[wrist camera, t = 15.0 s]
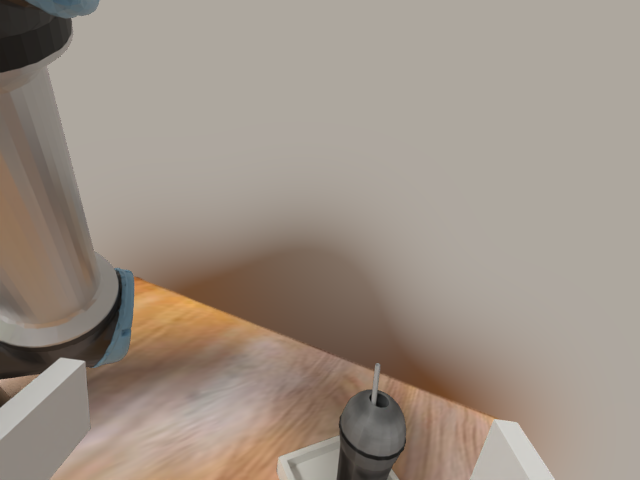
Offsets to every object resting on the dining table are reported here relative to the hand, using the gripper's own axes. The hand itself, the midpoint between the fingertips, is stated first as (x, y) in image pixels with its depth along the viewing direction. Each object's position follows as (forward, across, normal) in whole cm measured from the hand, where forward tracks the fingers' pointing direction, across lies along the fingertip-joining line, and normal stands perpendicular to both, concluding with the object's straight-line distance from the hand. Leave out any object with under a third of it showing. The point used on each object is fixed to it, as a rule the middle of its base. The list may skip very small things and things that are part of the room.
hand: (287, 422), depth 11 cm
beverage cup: (+19, +10, -32) cm, 39 cm away
